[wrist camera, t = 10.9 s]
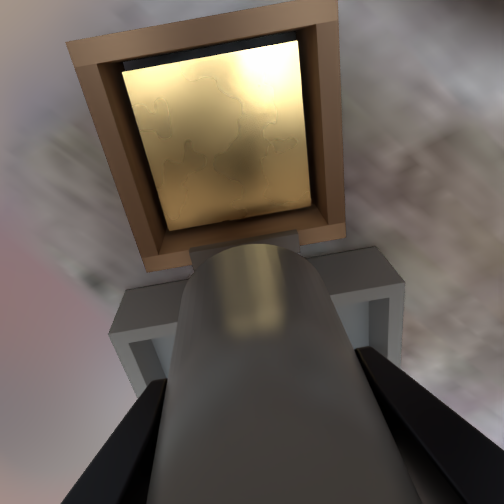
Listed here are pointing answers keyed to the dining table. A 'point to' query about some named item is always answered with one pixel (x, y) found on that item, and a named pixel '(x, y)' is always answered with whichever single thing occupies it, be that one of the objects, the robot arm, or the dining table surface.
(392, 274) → the trough
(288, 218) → the frame
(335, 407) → the battery cell
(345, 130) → the dining table surface
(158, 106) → the plate
